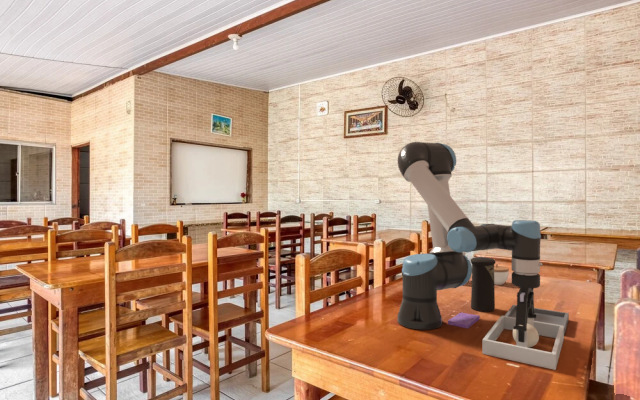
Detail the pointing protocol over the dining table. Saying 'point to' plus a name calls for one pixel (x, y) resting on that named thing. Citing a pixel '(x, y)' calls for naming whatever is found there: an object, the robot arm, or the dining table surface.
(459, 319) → the sponges
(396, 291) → the dining table surface
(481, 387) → the dining table surface
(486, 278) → the container
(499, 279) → the lidded jar
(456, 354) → the dining table surface
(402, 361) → the dining table surface
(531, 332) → the cream round ball
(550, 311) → the slate tray
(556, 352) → the light grey rectangular frame
